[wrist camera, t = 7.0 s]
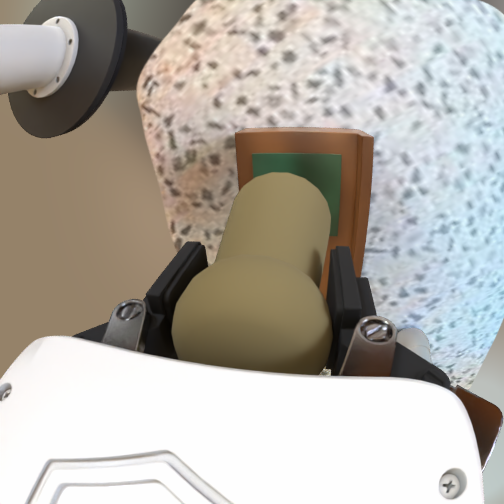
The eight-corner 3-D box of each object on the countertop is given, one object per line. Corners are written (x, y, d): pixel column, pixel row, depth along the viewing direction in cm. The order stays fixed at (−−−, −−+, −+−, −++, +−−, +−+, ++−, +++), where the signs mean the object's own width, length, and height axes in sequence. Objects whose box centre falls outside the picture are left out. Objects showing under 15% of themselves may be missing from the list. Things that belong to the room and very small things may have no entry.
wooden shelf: (256, 297, 39) (246, 332, 33) (245, 128, 29) (228, 135, 23) (344, 301, 37) (348, 338, 31) (359, 129, 26) (373, 136, 20)
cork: (212, 199, 17) (107, 321, 8) (304, 154, 15) (295, 252, 5) (259, 277, 19) (214, 427, 10) (345, 245, 17) (370, 406, 8)
